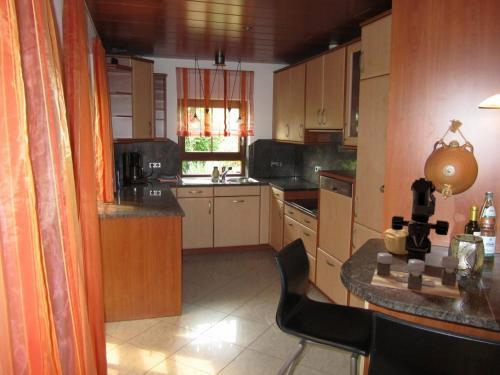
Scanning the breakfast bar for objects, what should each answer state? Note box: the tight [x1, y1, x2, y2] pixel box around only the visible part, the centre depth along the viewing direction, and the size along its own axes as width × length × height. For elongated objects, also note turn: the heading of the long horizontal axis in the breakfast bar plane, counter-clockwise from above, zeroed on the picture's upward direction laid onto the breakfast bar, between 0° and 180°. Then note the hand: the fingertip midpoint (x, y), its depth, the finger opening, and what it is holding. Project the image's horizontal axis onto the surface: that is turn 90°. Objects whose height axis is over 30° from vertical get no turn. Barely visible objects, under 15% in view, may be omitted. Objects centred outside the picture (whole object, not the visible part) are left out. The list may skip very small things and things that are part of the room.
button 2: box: [441, 255, 459, 274], centre depth 143 cm, size 5×5×5 cm
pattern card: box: [396, 274, 434, 287], centre depth 145 cm, size 6×12×1 cm, turn 68°
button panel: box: [370, 262, 462, 300], centre depth 144 cm, size 16×27×6 cm, turn 68°
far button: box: [407, 259, 426, 278], centre depth 139 cm, size 5×5×5 cm
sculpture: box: [383, 228, 409, 255], centre depth 181 cm, size 12×12×11 cm
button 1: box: [376, 252, 393, 265], centre depth 151 cm, size 5×5×5 cm
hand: (417, 246), depth 146 cm, fingers closed
